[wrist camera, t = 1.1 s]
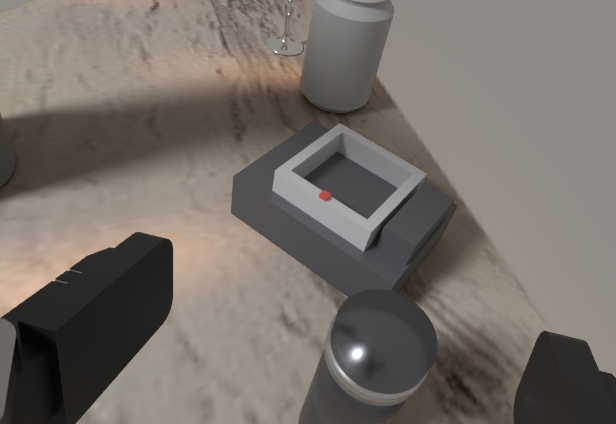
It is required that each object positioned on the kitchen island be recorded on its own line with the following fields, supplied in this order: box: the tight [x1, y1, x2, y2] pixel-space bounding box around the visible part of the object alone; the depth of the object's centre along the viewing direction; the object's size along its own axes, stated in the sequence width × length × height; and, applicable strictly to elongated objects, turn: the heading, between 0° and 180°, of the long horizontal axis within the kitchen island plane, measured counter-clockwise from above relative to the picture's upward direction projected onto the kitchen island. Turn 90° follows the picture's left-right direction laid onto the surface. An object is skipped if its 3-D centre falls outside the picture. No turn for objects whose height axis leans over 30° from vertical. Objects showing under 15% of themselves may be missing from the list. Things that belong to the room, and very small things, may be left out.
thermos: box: [299, 289, 438, 424], centre depth 25 cm, size 5×5×11 cm
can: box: [300, 0, 394, 113], centre depth 48 cm, size 8×8×12 cm
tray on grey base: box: [231, 121, 457, 297], centre depth 38 cm, size 14×10×6 cm
